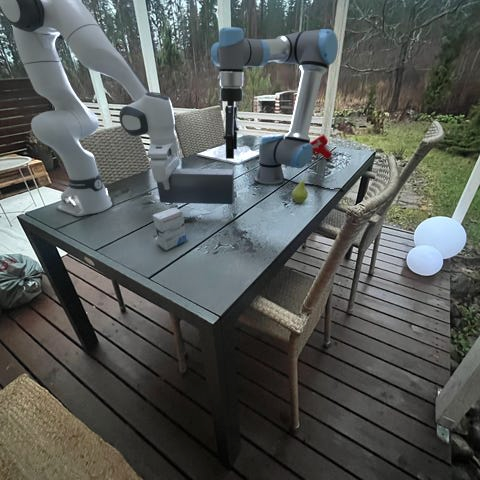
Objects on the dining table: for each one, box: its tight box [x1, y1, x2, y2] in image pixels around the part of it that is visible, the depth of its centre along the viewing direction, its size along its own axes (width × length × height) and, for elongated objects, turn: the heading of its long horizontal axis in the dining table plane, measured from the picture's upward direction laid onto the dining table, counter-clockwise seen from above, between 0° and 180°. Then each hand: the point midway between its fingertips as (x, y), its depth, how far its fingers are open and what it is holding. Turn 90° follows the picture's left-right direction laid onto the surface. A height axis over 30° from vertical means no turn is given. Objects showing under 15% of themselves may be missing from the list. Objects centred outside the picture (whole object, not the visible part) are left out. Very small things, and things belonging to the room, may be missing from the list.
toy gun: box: [310, 133, 333, 161], centre depth 176 cm, size 18×4×15 cm
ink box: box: [152, 206, 187, 251], centre depth 91 cm, size 8×5×12 cm, turn 135°
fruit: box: [291, 174, 311, 204], centre depth 118 cm, size 7×8×12 cm
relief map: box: [196, 143, 259, 166], centre depth 184 cm, size 27×35×5 cm
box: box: [156, 167, 235, 205], centre depth 100 cm, size 27×6×11 cm, turn 87°
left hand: (170, 185), depth 100 cm, fingers closed on box, 6 cm apart
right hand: (231, 153), depth 100 cm, fingers open, 13 cm apart
